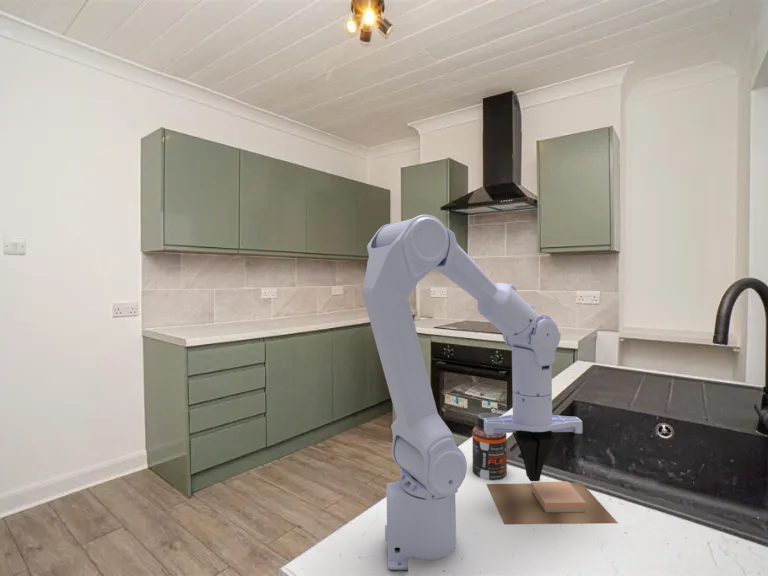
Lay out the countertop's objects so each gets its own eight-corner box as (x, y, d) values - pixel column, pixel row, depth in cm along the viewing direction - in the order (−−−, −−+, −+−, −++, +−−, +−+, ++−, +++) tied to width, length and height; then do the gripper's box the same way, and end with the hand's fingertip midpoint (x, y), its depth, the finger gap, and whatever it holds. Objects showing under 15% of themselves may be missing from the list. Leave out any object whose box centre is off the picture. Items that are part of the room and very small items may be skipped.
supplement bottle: (490, 490, 69) (489, 424, 68) (465, 476, 74) (464, 415, 73) (514, 480, 72) (513, 417, 72) (488, 467, 77) (487, 408, 77)
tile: (544, 502, 60) (585, 502, 60) (530, 482, 66) (568, 481, 66) (545, 513, 60) (585, 512, 60) (531, 491, 66) (568, 491, 66)
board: (504, 532, 58) (504, 523, 58) (486, 490, 69) (486, 483, 69) (618, 531, 57) (618, 522, 57) (581, 489, 68) (581, 482, 68)
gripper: (568, 383, 66) (568, 465, 67) (479, 385, 67) (480, 466, 67) (588, 396, 59) (589, 487, 60) (489, 398, 60) (490, 489, 60)
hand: (532, 478), depth 63 cm, fingers closed
